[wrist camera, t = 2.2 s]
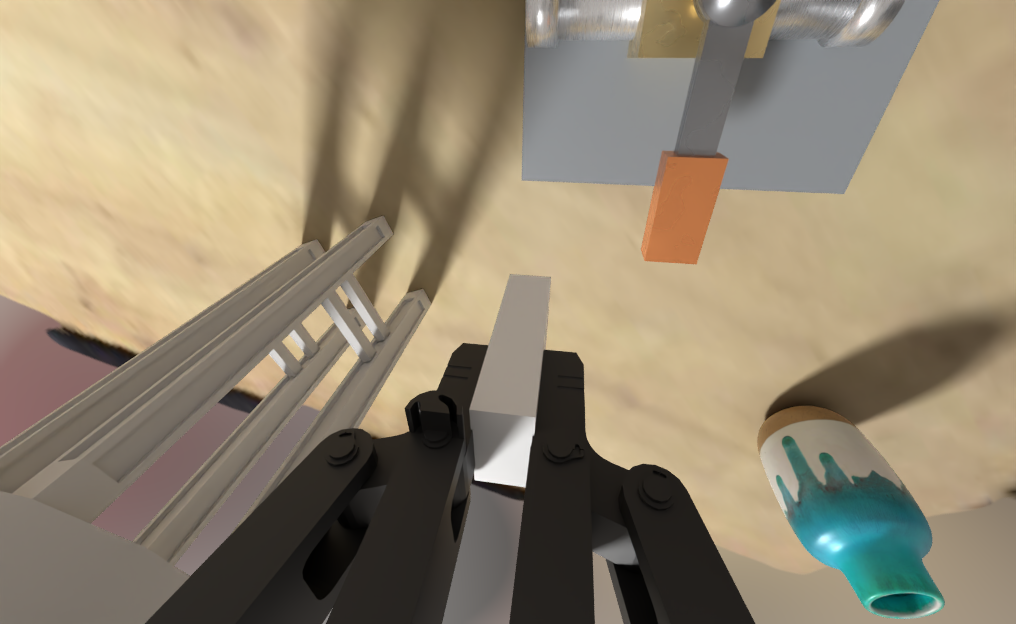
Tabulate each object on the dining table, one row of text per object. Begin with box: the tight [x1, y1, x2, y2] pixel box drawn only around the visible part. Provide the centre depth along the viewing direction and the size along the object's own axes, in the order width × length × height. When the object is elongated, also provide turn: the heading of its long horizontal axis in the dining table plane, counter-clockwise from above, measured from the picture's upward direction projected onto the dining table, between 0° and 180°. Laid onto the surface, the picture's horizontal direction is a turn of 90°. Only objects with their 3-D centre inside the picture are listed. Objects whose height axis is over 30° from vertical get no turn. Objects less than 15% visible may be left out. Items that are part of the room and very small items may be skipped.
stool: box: [0, 215, 431, 624], centre depth 30 cm, size 16×16×35 cm
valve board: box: [522, 0, 939, 194], centre depth 27 cm, size 26×22×2 cm
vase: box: [757, 406, 945, 619], centre depth 39 cm, size 11×11×19 cm
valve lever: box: [641, 0, 776, 264], centre depth 21 cm, size 4×16×2 cm, turn 0°
